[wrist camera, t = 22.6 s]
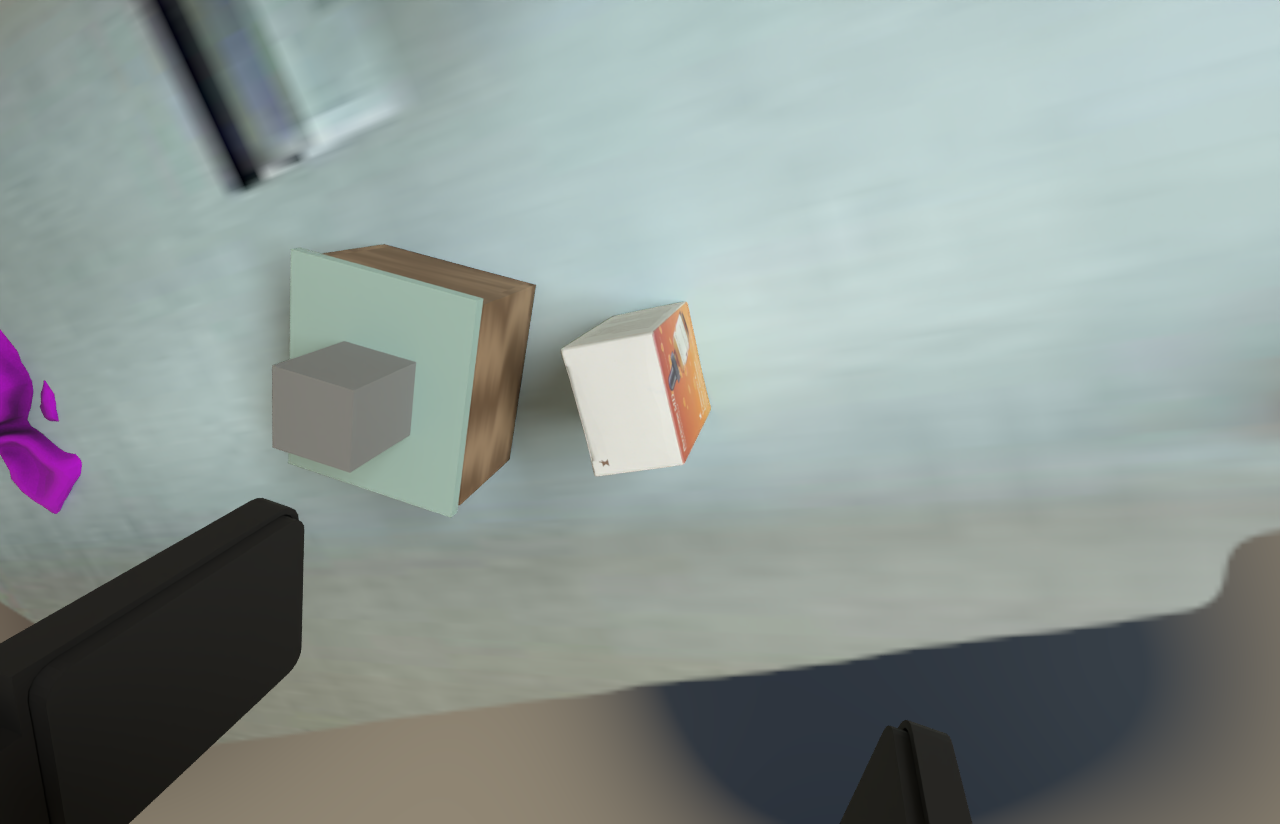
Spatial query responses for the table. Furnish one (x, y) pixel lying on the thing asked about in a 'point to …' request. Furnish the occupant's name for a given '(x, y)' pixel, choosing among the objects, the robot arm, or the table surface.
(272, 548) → the robot arm
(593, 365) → the small box
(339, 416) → the block
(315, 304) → the lid
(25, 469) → the cloth
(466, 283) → the brown wooden open box
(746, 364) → the table surface
